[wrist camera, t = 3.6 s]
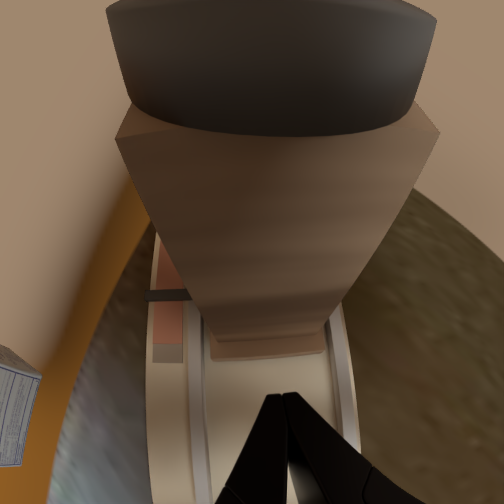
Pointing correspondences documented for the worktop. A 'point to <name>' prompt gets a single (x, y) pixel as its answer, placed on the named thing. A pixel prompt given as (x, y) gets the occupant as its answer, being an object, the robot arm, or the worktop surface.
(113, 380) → the worktop surface
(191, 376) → the scale board
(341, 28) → the post
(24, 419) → the medicine box
